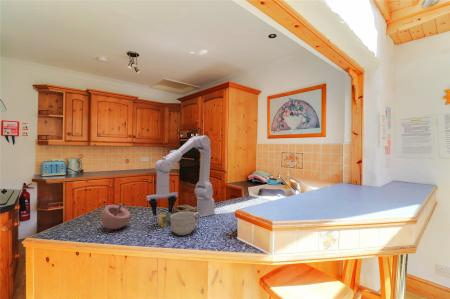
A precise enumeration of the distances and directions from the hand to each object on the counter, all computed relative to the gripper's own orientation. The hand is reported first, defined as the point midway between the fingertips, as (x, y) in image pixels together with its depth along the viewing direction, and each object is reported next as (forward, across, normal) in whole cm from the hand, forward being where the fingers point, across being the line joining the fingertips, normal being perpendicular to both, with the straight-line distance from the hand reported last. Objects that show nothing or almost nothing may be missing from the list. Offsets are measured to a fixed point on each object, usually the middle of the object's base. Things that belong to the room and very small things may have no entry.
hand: (162, 213), depth 98 cm
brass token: (+6, 0, 0) cm, 6 cm away
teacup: (+6, -5, +14) cm, 16 cm away
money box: (+6, -11, 0) cm, 12 cm away
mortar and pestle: (+6, +18, -10) cm, 21 cm away
